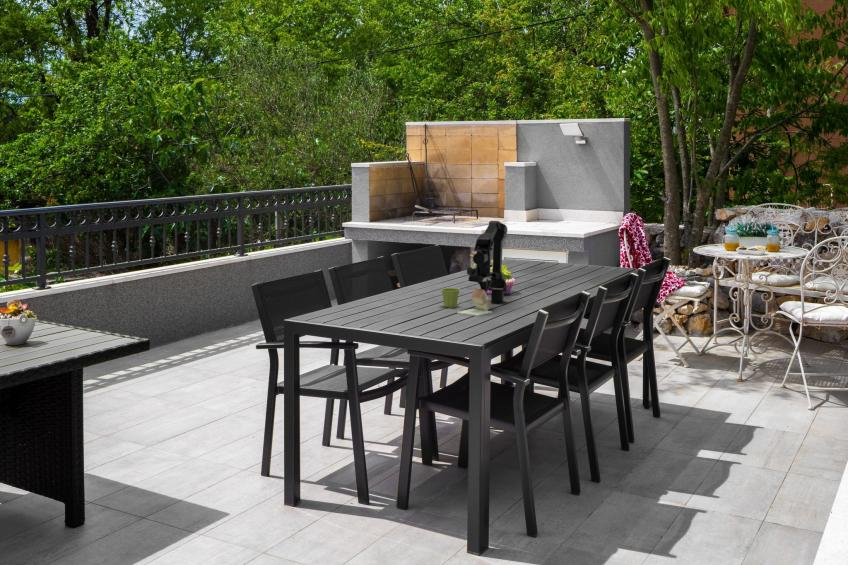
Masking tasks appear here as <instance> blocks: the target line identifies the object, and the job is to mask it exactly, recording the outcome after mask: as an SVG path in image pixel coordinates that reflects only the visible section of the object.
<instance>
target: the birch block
mask: <svg viewBox="0 0 848 565" xmlns="http://www.w3.org/2000/svg"><path fill="white" fill-rule="evenodd" d="M470 297H471V299H472V301H473V304H474V305H475V307H476V309H478V310H485V311H489V309H490V307H491V306H492V303H491V302H490V301H491V300H490V298H489V297H488V295H487V293H486V292H485V291H484V290H483V289H481V288H475V289H474V290H473V292H472V293H471V295H470Z"/></svg>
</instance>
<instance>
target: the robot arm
mask: <svg viewBox="0 0 848 565" xmlns="http://www.w3.org/2000/svg"><path fill="white" fill-rule="evenodd" d="M507 234H508V226H507V225H506V224H505V223H503V222H501V221H499V220H489V222H488V225H487V227H486V229H485V231H484V232H483V233H482V234H479V236H477V238H476V239H475V240H476V241H475V246H474V252H476V253H474V255H473V257H472V261H473V263H474V264H475V265H476V266H475V267H474V268H472V267H471V266H470V267H467V268H466V274H467V275H468V282H471V283H472V282H474V283H478V284H479V287H480V289H483V290H484V291H485V292H486V294H487V293H488V291H491V295H490V298H491V300H490V302H491V304H504V303H506V302H507V301H506V300H505V299H504V292H507V291H508V284H507V281H506V279H505V274H504V272H503V271H502V269H503V246H504V245H503V243H504V240H505V239H506V237H507ZM492 250H493V252H492ZM491 252H492V258H491ZM491 260H492V264H491ZM491 268H492V271H491Z"/></svg>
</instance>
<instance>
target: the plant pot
mask: <svg viewBox="0 0 848 565" xmlns="http://www.w3.org/2000/svg"><path fill="white" fill-rule="evenodd" d="M440 291H441V294H442V299H443V304H444V305H443V306H444V308H449V309H450V308H457V307H458V299H459V294H460V291H461V289H460V288H457V287H456V288H454V287H453V288H452V287H451V288H450V287H448V288H445V287H444V288H441V289H440Z"/></svg>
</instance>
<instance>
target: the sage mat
mask: <svg viewBox="0 0 848 565" xmlns="http://www.w3.org/2000/svg"><path fill="white" fill-rule="evenodd" d="M456 313H457V314H462V315H468V316H475V317H478V316H483V315H484V316H485V315H488V314H491V313H493V311H492V310H491V311H490V310H487V311H485V310H478V309H477V308H469V309H464V310H461V311H460V310H459V311H456Z"/></svg>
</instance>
